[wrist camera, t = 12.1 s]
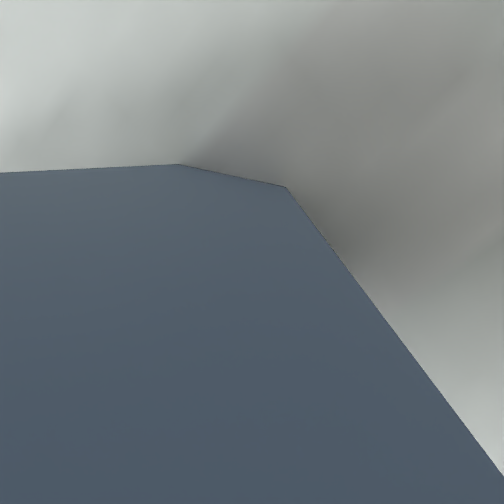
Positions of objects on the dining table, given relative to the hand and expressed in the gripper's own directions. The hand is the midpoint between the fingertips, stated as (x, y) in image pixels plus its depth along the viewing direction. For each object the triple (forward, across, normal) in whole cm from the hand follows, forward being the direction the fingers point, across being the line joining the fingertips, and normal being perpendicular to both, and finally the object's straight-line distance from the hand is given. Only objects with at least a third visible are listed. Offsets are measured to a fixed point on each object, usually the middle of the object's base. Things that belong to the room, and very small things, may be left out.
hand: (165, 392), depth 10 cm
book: (+7, 0, 0) cm, 7 cm away
